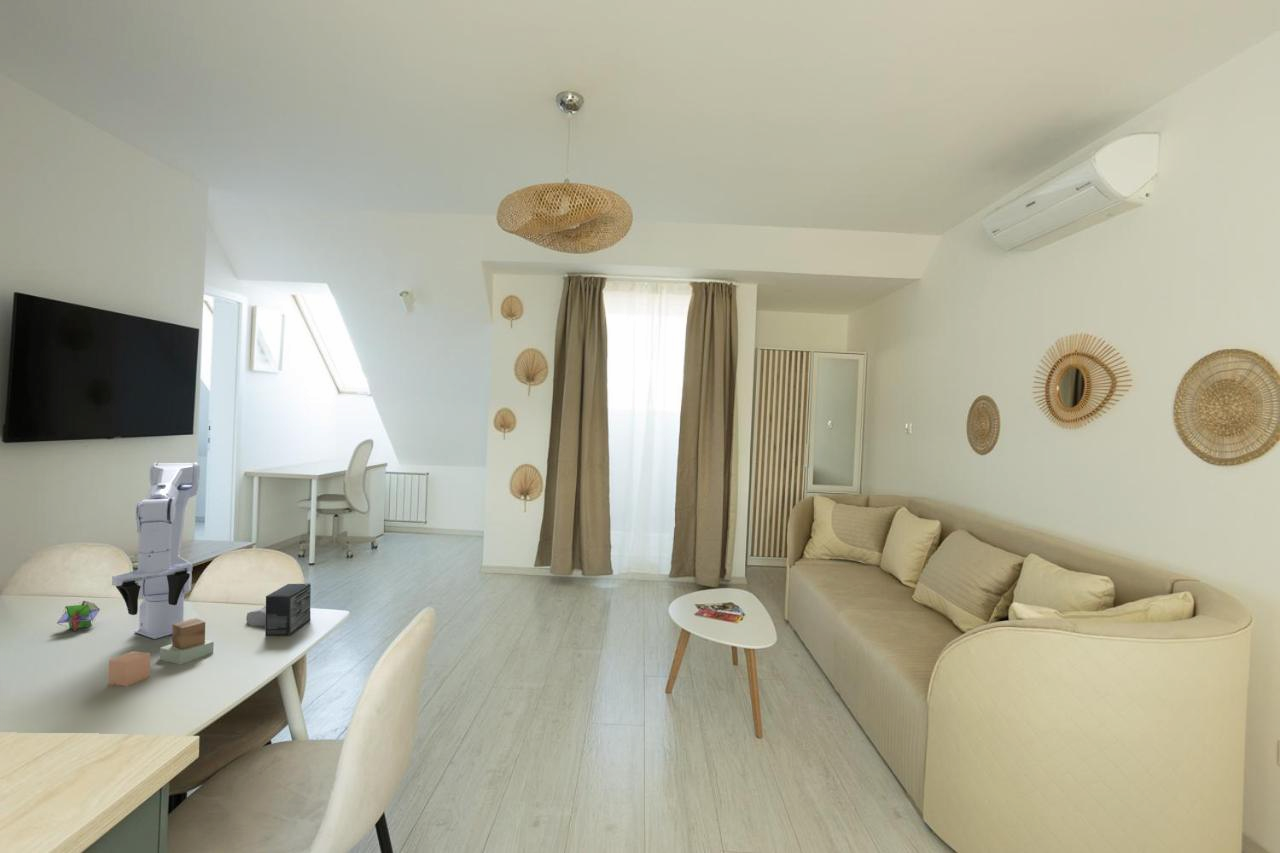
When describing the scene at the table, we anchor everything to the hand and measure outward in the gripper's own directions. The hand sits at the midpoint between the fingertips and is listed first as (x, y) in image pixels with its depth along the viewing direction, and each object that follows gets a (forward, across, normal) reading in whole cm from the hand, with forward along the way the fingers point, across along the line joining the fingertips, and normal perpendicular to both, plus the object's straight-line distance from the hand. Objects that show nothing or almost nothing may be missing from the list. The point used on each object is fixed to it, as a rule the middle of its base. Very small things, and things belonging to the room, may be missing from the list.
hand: (153, 609), depth 127 cm
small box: (+11, +24, -12) cm, 29 cm away
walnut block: (+8, +3, -8) cm, 12 cm away
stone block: (+11, +27, -1) cm, 29 cm away
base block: (+11, +3, -8) cm, 14 cm away
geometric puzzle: (+10, -1, +32) cm, 34 cm away
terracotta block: (+11, -9, -10) cm, 17 cm away
